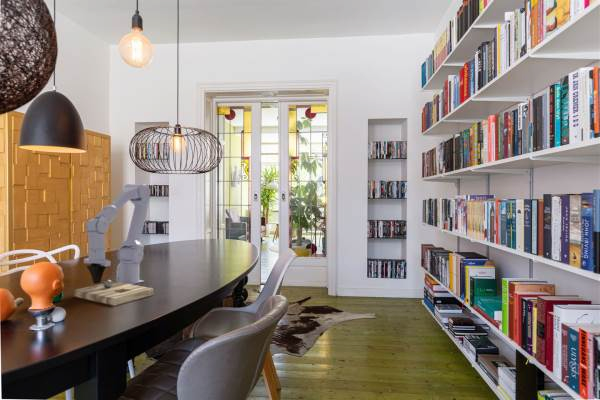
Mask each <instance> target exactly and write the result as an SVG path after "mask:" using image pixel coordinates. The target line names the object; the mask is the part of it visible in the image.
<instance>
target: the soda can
mask: <svg viewBox="0 0 600 400" xmlns="http://www.w3.org/2000/svg"><path fill="white" fill-rule="evenodd" d="M59 267H60V268H61V269H62V272H63V273H64V269H63V268H62V267H61V266H59ZM63 292H64V290H63V291H62V292H61V293H60V294H59V295H57V296H56V297H54V299H53V302H54V303H59V302H62V301H63V299H64V293H63Z"/></svg>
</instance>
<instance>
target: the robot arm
mask: <svg viewBox="0 0 600 400" xmlns="http://www.w3.org/2000/svg"><path fill="white" fill-rule="evenodd" d="M150 197H151V190H150V188H149V186H148V184H146V183H140V184H138V183H135V184H133V183H128V184H125V186H124V187H122V189H121V193H119V195H117V197H116V199H115V200H113V201H112V203H111V204H106V205H103V207H102V209H101V210H100V211H99V212H98V213H97V214H95V217H94V218H90V219H88V221H87V222H86V224H85V225H84V228H85V229H84V230H85V231H86V232H87V236H88V237H87V238H88V257H86V258H83V264H90V265H87V266H86V268H87V270H88V271H89V273H90V276H91V279H92V283H93V284H96V285H97V284H101V281H102V279H103V276H104V272H105V270H106V268H108V267H111V263H112V262H111V260H109V259H107V258H106V232H108V230H110V225H111V222H113V220H114V219H115V218H116V217H117V216H118V215H119V210H120V209H121V208H123V207H124V205H125V204H126V203H128V202H131V204H133V205H134V209H133V212H132V216H131V221H130V225H129V228H128V234H127V237H126V239H125V240H124V241H123V242H122V243H121V244H120V247H119V249H118V251H117V253H116V257H117V259H118V261H119V263H118V265H117V266H116V280H115V282H120V283H126V284H132V285H136V284H139V283H143V282H145V280H141V279H140V263H142V260H143V258H144V250H145V246H144V245H143V244H142V243H141V238H142V234H143V230H144V226H145V221H146V217H147V212H148V208H149V201H150V200H149V199H150Z"/></svg>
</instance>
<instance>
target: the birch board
mask: <svg viewBox="0 0 600 400" xmlns="http://www.w3.org/2000/svg"><path fill="white" fill-rule="evenodd" d="M112 283H113V284H112V286H111V287H110V288H105V287H104V286H103V283H99V284H96V285H91V286H86V287H81V288H77V289H74V297H76V298H80V299H82V300H83V299H84V300H88V301H92V302H97V303H102V304H105V305H110V306H118V305H122V304H125V303H130V302H132V301H136V300H140V299H143V298H146V297H151V296H153V295H154V287H148V286H147V287H146V286H141V285H136V284H126V283H120V282H116V280H115V281H112Z"/></svg>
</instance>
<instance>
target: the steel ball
mask: <svg viewBox="0 0 600 400" xmlns="http://www.w3.org/2000/svg"><path fill="white" fill-rule="evenodd" d="M112 282H113V281H112V280H111V279H106V280H104V281H103V283H102V284H103V286H104V287H105V288H110V287H111V286H112V284H113V283H112Z"/></svg>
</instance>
